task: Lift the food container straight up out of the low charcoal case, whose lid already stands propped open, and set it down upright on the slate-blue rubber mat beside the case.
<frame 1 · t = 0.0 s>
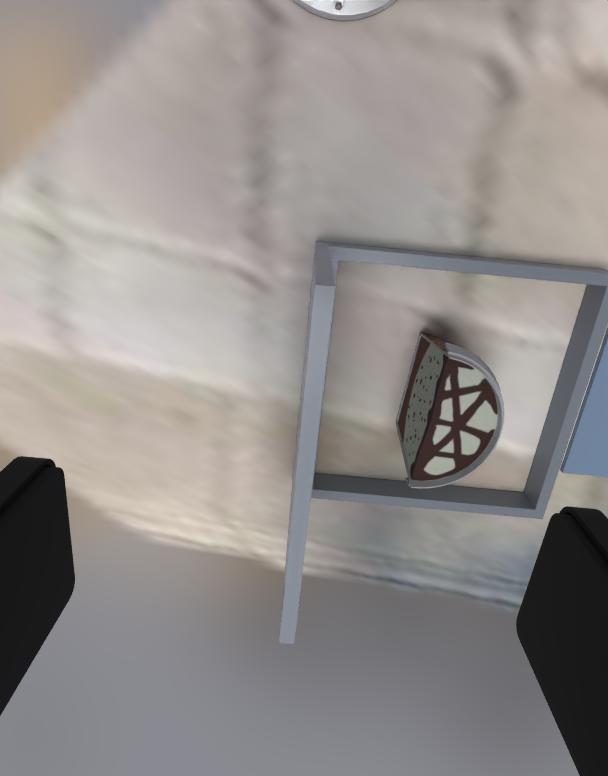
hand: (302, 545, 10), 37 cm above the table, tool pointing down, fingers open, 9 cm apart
food container: (438, 383, 48), resting in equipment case
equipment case: (439, 384, 48), on the table
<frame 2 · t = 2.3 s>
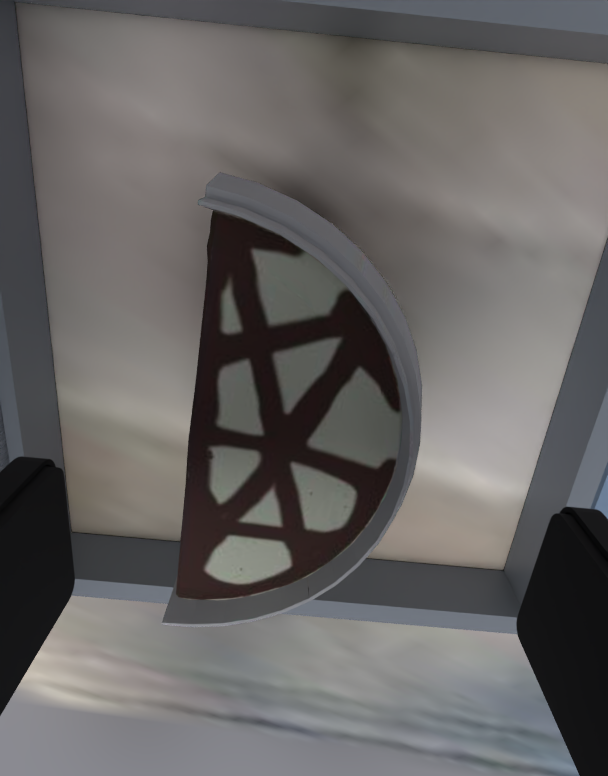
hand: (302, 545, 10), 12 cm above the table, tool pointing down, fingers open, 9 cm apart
food container: (309, 343, 21), resting in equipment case
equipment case: (309, 345, 21), on the table
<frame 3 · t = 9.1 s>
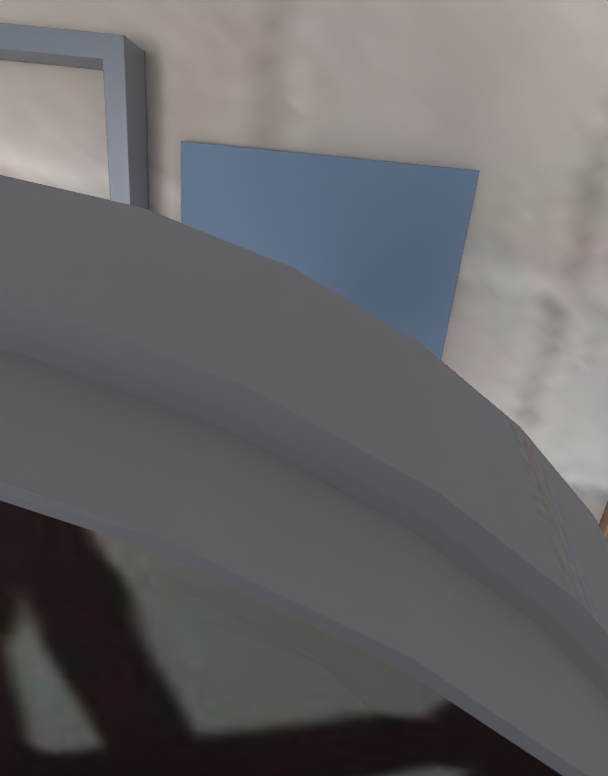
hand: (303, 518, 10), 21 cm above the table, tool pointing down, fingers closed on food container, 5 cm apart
food container: (332, 454, 13), point 19 cm above the table, touching gripper
mat: (315, 301, 30), on the table
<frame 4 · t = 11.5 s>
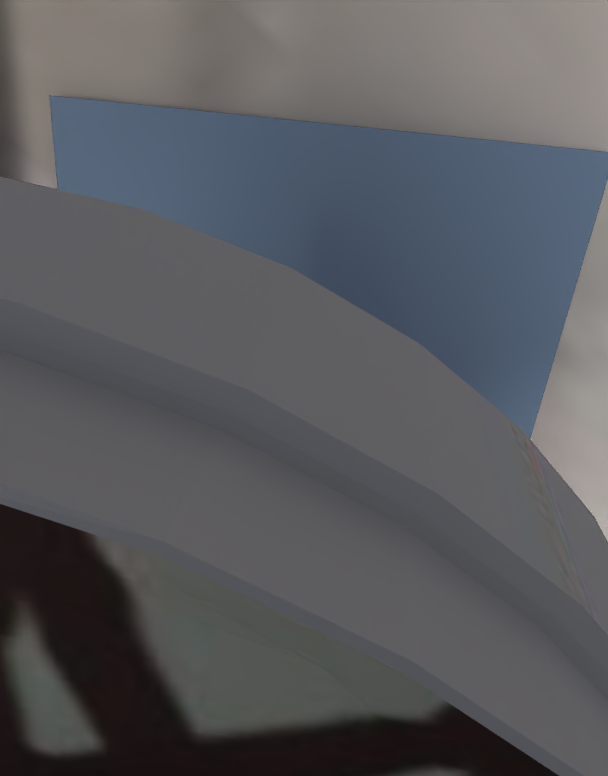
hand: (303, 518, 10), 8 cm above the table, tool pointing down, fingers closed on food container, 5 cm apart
food container: (332, 455, 13), point 5 cm above the table, touching gripper
mat: (308, 381, 18), on the table
when the fingers open (4 cm above the table, at t = 13.2 s): food container stays where it is, resting on mat.
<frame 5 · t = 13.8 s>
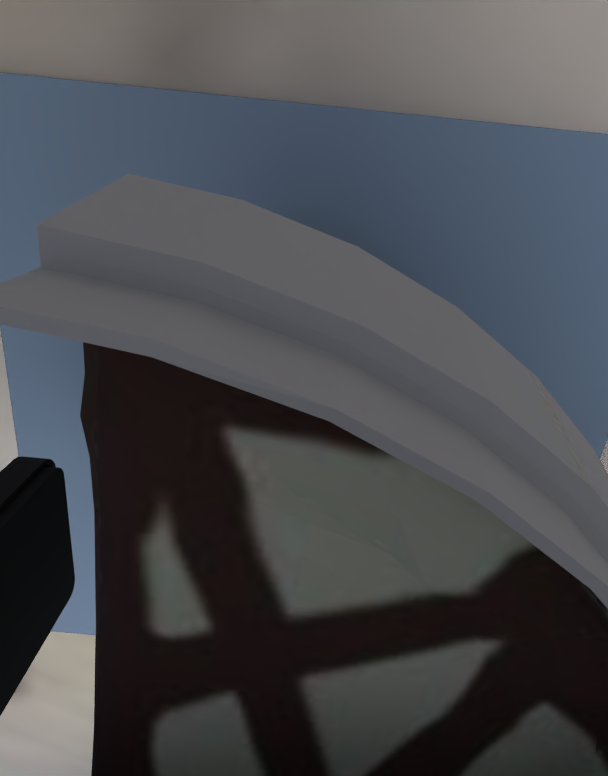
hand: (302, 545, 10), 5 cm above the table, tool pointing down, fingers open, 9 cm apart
food container: (342, 436, 14), resting on mat
mat: (307, 431, 14), on the table
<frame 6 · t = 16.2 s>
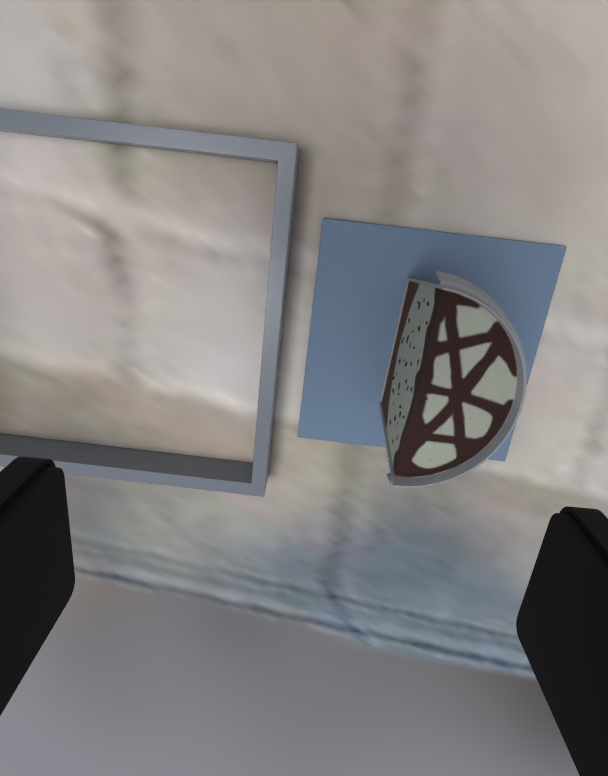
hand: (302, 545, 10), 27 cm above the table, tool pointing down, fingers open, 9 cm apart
food container: (434, 348, 36), resting on mat
mat: (420, 347, 36), on the table
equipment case: (116, 312, 36), on the table
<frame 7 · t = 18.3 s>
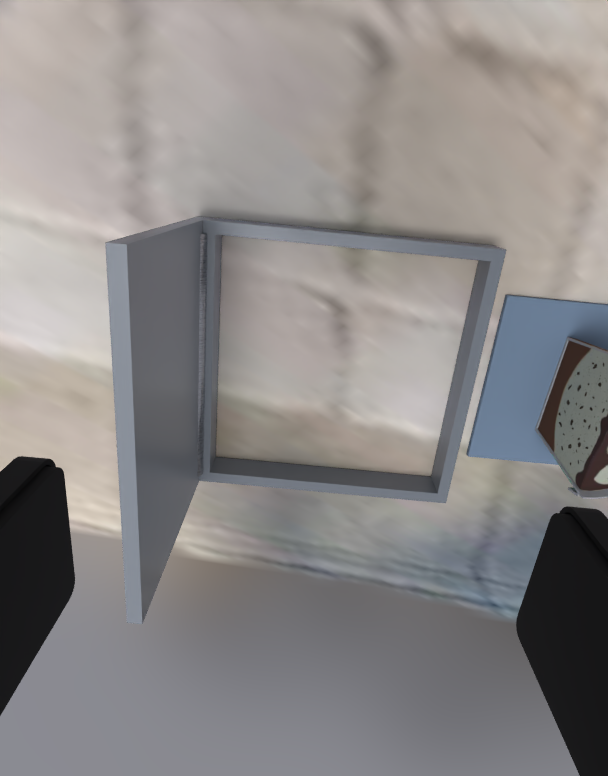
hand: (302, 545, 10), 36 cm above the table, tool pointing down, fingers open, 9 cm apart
food container: (581, 388, 47), resting on mat
mat: (569, 387, 47), on the table
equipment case: (336, 365, 47), on the table
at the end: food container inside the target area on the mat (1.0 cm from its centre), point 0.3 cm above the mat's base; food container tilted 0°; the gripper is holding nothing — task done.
